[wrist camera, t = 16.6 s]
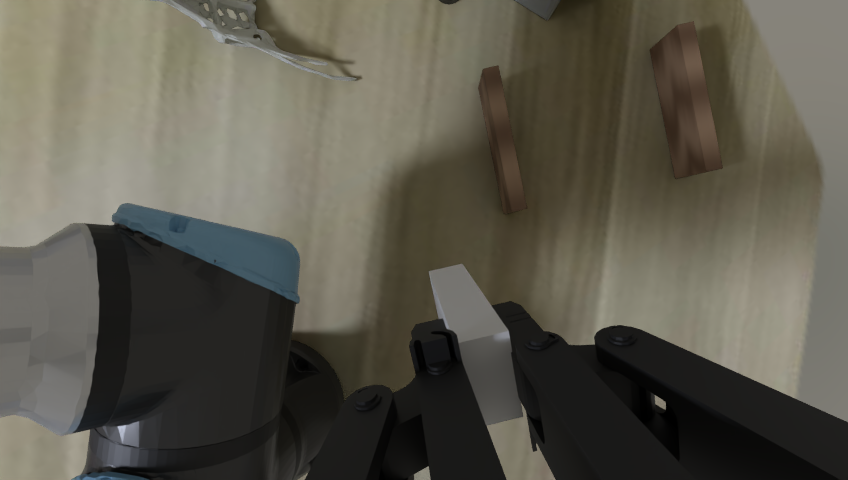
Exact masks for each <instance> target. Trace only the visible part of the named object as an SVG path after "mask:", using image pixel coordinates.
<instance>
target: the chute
mask: <svg viewBox="0 0 848 480" xmlns="http://www.w3.org/2000/svg"><path fill="white" fill-rule="evenodd" d="M650 53H651V58H652V63H653V68H654V73H655V78H656V84H657V89H658V94H659V99H660V104H661V109H662V114H663V119H664V124H665V129H666V134H667V139H668V144H669V149H670V154H671V159H672V164H673V169H674V174H675V179H677V178H681V177H686V176H691V175H695V174H700V173H704V172H709V171H713V170H717V169H722V168H723V167H722V162H721V157H720V152H719V147H718V141H717V136H716V131H715V126H714V121H713V116H712V111H711V106H710V101H709V96H708V91H707V86H706V81H705V76H704V70H703V65H702V60H701V55H700V50H699V45H698V40H697V35H696V30H695V25H694V21H693V22H689V23H684V24H680V25H677V26H676V27H675V28H674V29H672V30H671V31H670V32H669V33H668V34H667V35H666V36H665V37H663V38H662V39H661V40H660V41H659V42H658V43H657V44H656V45H654V46H653V47H652V48H651V49H650ZM478 89H479V94H480V99H481V104H482V108H483V113H484V118H485V123H486V128H487V133H488V138H489V143H490V148H491V153H492V158H493V163H494V168H495V173H496V178H497V182H498V187H499V192H500V197H501V202H502V207H503V212H504V214H506V213H511V212H516V211H520V210H524V209H527V205H526V200H525V195H524V190H523V185H522V180H521V175H520V170H519V165H518V160H517V155H516V150H515V145H514V141H513V136H512V131H511V126H510V121H509V116H508V111H507V106H506V101H505V96H504V91H503V86H502V81H501V76H500V71H499V66H494V67H489V68H485V69H483V71H482V75H481V79H480V83H479V87H478Z"/></svg>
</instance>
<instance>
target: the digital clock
mask: <svg viewBox="0 0 848 480" xmlns="http://www.w3.org/2000/svg"><path fill="white" fill-rule="evenodd" d="M515 1H517V2H518V3H520V4H521V5H523V6H525V7H526V8H528V9H530V10H531V11H533V12H534V13H536V14H538V15H539V16H541V17H542V18H544V19H546V20H549V18H550V17H551V15H552V13H553V12H554V10H555V9H556V7H557V6H558V4H559V3H560V1H561V0H515Z"/></svg>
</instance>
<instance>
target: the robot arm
mask: <svg viewBox="0 0 848 480" xmlns="http://www.w3.org/2000/svg"><path fill="white" fill-rule="evenodd" d="M112 221H113V222H115V224H114V225H98V224H85V223H73V224H70V225H69V226H67V227H65V228H64V229H62V230H61V231H59V232H57V233H56V234H54V235H52V236H51V237H49V238H47V239H46V240H44V241H43V242H41V243H39V244H38V245H36V246H30V247H0V417H5V416H10V415H17V416H21V417H26V418H29V419H31V420H33V421H35V422H36V423H38V424H40V425H41V426H43V427H45V428H47V429H48V430H50V431H52V432H53V433H55V434H57V435H60V436H63V435H68V434H72V433H76V432H81V431H85V430H89V429H90V436H89V443H88V451H87V459H86V465H85V468H84V470H83V472H82V474H81V475H79V476H76V477H75V478H73V479H71V480H298V479H299V478H301V477H302V476H304V475H305V474H307V473H308V472H309V473H308V475H307V477H306V479H305V480H414V474H415V473H417V472H419V471H420V470H422V469H424V468H426V467H428V466H429V470H430V477H431V480H506V477H505V474H504V472H503V469H502V466H501V464H500V461H499V458H498V456H497V453H496V450H495V448H494V445H493V442H492V440H491V437H490V434H489V432H488V429H487V425H491V424H495V423H499V422H503V421H507V420H511V419H515V418H519V417H523V413H522V407H521V403H522V404H523V406H524V408H525V410H526V413H527V419H528V425H529V432H530V438H531V444H532V449H533V452H534V451H537V447H536V443H537V444H538V446H539V448H540V450H541V452H542V454H543V456H544V458H545V460H546V462H547V464H548V466H549V467H550V469H551V471H552V473H553V475H554V477H555V479H556V480H848V422H846V421H844V420H841V419H839V418H837V417H835V416H832V415H830V414H828V413H826V412H823V411H821V410H819V409H817V408H815V407H812V406H810V405H808V404H806V403H803V402H801V401H799V400H797V399H795V398H792V397H790V396H788V395H786V394H783V393H781V392H779V391H777V390H774V389H772V388H770V387H768V386H765V385H763V384H761V383H759V382H757V381H754V380H752V379H750V378H748V377H745V376H743V375H741V374H739V373H736V372H734V371H732V370H730V369H728V368H725V367H723V366H721V365H719V364H716V363H714V362H712V361H710V360H707V359H705V358H703V357H701V356H698V355H696V354H694V353H692V352H690V351H687V350H685V349H683V348H681V347H678V346H676V345H674V344H672V343H669V342H667V341H665V340H663V339H660V338H658V337H656V336H654V335H652V334H649V333H647V332H645V331H643V330H640V329H637V328H634V327H628V326H623V325H617V326H610V327H607V328H603V329H601V330H600V331H598V332H597V333H596V335H595V336H594V339H595V345H568V343H567V342H566V341H565V340H564V339H563V338H562V337H560V336H559V335H557V334H555V333H552V332H547V331H543V330H542V329H541V328H540V326H539V325H538V324H537V323H536V322H535V321H534V320H533V319H532V318H531V316H530V315H529V314H528V313H527V312H526V311H525V309H524V308H523V307H522V306H521V305H519V304H516V303H514V302H511V301H510V302H505V303H501V304H497V305H492V306H491V304H490V303H489V302H488V300H487V299H486V297H485V296H484V294H483V293H482V291H481V290H480V289H479V287H478V286H477V284H476V283H475V281H474V280H473V278H472V277H471V275H470V274H469V273H468V271H467V270H466V268H465V267H464V265H463V264H458V265H454V266H450V267H445V268H441V269H436V270H432V271H429V276H430V281H431V285H432V290H433V295H434V299H435V304H436V309H437V313H438V318H439V319H437V320H433V321H429V322H424V323H420V324H416V325H415V327H414V328H413V330H412V332H411V334H412V340H411V341H410V345H409V348H410V352H411V356H412V360H413V365H414V369H415V373H416V376H415V378H414V379H413V380H412V382H411V383H410V384H408V385H407V386H406V387H404V388H402V389H401V390H399V391H397V392H394V393H393V392H392V391H391V390H390V388H388V387H386V386H383V385H372V386H366V387H363V388H361V389H359V390H357V391H355V392H354V393H353V394H351V395H350V396H348V398H347V399H346V400H345V402H344V397H343V392H342V388H341V385H340V382H339V380H338V377H337V375H336V374H335V372H334V370H333V369H332V367H331V366H330V365H329V363H328V362H327V361H326V360H325V359H324V358H323V357H322V356H321V355H320V354H319V353H317V352H316V351H314V350H313V349H311V348H310V347H308V346H306V345H304V344H302V343H299V342H296V341H292V340H291V337H292V329H293V322H294V314H295V307H296V304H298V303H299V301H300V297H299V296H298V294H297V292H298V281H299V269H300V257H299V254H298V251H297V250H296V248H295V247H294V246H293V245H292V244H291V243H290V242H289V241H287V240H285V239H282V238H279V237H275V236H270V235H266V234H262V233H257V232H253V231H249V230H244V229H240V228H236V227H231V226H227V225H222V224H218V223H213V222H209V221H205V220H201V219H196V218H192V217H187V216H183V215H179V214H174V213H170V212H165V211H161V210H156V209H152V208H148V207H143V206H139V205H135V204H130V203H125V204H122V205H120V206H119V208H118V210H117V212H116V213H115V214H113V215H112ZM655 395H656V396H658V397H659V398H661V399H663V400H664V401H665V402H666V410H665V409H662V408H661V407H659V406H657V405H656V404H655Z"/></svg>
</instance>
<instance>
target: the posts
mask: <svg viewBox="0 0 848 480" xmlns="http://www.w3.org/2000/svg"><path fill="white" fill-rule="evenodd" d="M439 1H441V2H442V3H444V4H453V3H455V2H457V1H458V0H439Z"/></svg>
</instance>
